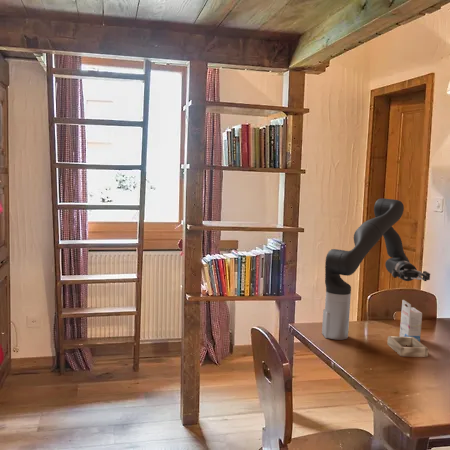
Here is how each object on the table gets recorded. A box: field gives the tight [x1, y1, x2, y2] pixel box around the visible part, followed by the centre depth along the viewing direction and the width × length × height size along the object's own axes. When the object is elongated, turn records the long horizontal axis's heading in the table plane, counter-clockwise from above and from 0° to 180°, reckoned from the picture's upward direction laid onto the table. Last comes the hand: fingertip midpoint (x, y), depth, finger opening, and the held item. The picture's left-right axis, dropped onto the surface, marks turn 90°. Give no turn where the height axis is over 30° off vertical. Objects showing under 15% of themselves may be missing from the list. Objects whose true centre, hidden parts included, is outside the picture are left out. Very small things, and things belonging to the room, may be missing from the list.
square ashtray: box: [386, 335, 429, 358], centre depth 180 cm, size 10×12×3 cm
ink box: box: [399, 299, 423, 343], centre depth 191 cm, size 8×5×15 cm, turn 2°
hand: (414, 277), depth 200 cm, fingers open, 8 cm apart
